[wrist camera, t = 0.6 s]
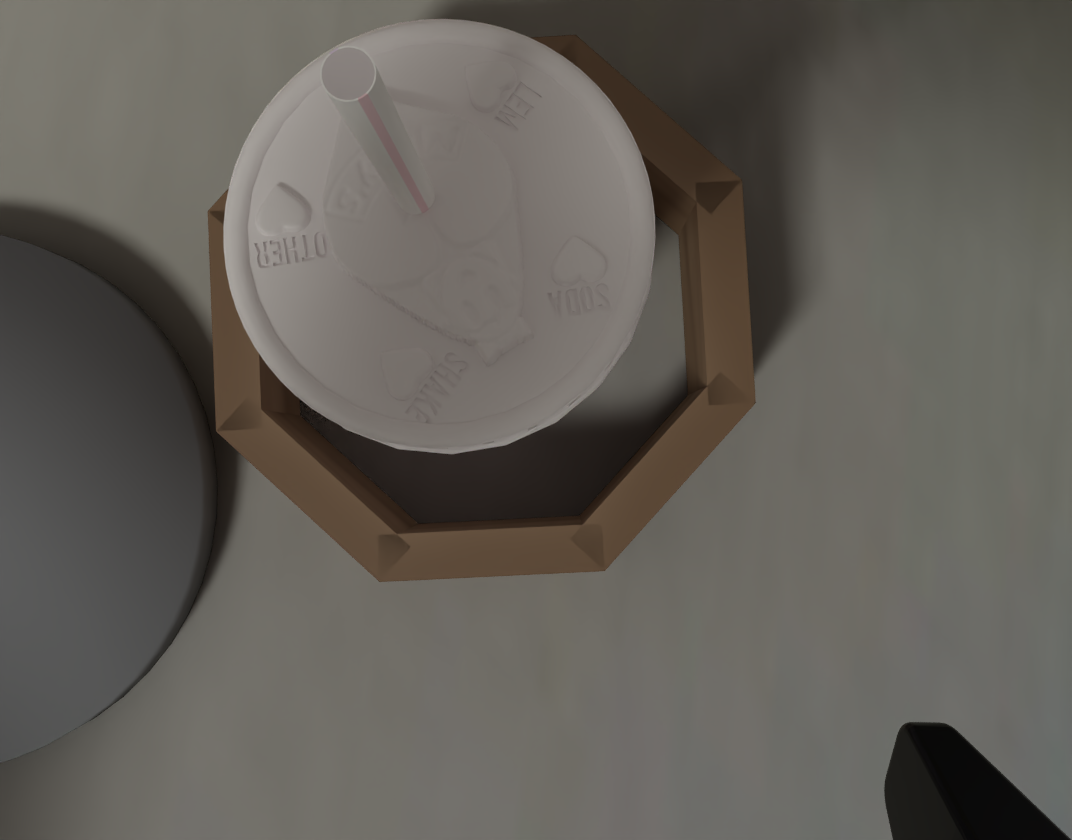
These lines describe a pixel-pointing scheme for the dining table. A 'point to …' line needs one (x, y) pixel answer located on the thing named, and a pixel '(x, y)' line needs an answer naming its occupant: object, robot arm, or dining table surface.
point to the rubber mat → (90, 495)
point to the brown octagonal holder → (639, 487)
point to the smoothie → (440, 235)
